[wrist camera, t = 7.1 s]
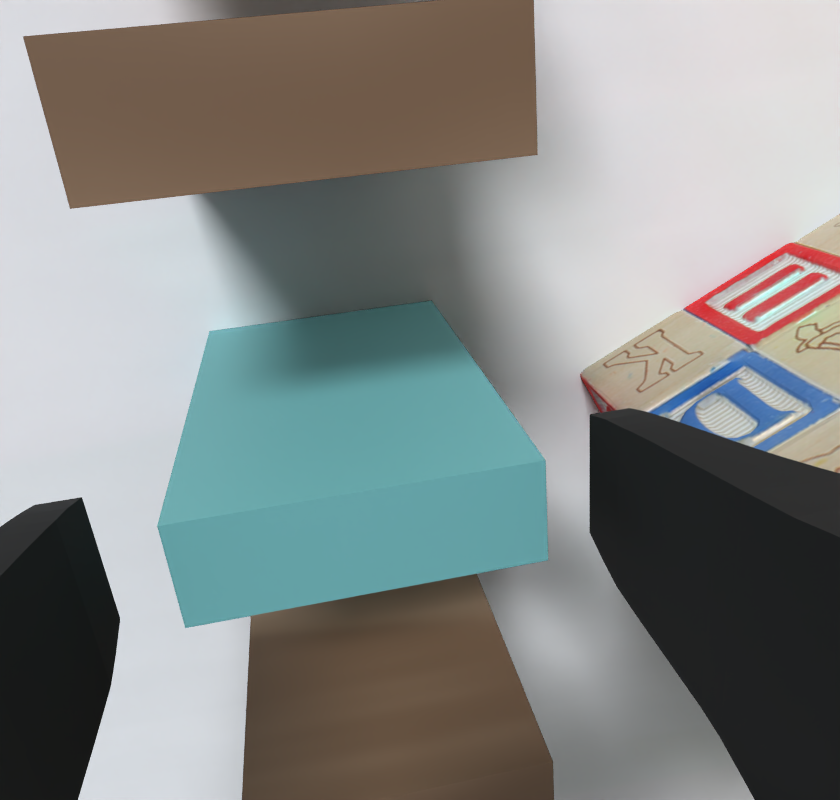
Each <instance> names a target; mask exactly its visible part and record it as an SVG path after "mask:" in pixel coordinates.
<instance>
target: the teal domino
mask: <svg viewBox="0 0 840 800" xmlns="http://www.w3.org/2000/svg"><path fill="white" fill-rule="evenodd" d="M157 527H158V530H159V534H160V538H161V541H162V545H163V548H164V552H165V556H166V559H167V563H168V567H169V570H170V574H171V577H172V581H173V585H174V588H175V592H176V596H177V599H178V603H179V606H180V610H181V614H182V617H183V621H184V625H185V628H188V627H194V626H199V625H204V624H210V623H215V622H220V621H226V620H231V619H236V618H242V617H247V616H252V615H258V614H263V613H269V612H274V611H279V610H285V609H290V608H295V607H301V606H306V605H311V604H317V603H322V602H327V601H333V600H338V599H343V598H349V597H354V596H360V595H365V594H370V593H376V592H381V591H386V590H392V589H397V588H402V587H408V586H413V585H418V584H424V583H429V582H434V581H440V580H445V579H451V578H456V577H461V576H467V575H472V574H477V573H483V572H488V571H493V570H499V569H504V568H509V567H515V566H520V565H526V564H531V563H536V562H542V561H547V560H548V537H547V499H546V461H545V459H544V458H543V456H542V455H541V453H540V452H539V451H538V449H537V448H536V446H535V445H534V444H533V442H532V441H531V439H530V438H529V437H528V435H527V434H526V432H525V431H524V430H523V428H522V427H521V425H520V424H519V423H518V421H517V420H516V418H515V417H514V416H513V414H512V413H511V411H510V410H509V409H508V407H507V406H506V404H505V403H504V401H503V400H502V399H501V397H500V396H499V394H498V393H497V392H496V390H495V389H494V387H493V386H492V385H491V383H490V382H489V380H488V379H487V378H486V376H485V375H484V373H483V372H482V371H481V369H480V368H479V366H478V365H477V364H476V362H475V361H474V359H473V358H472V357H471V355H470V354H469V352H468V351H467V350H466V348H465V347H464V345H463V344H462V343H461V341H460V340H459V338H458V337H457V336H456V334H455V333H454V331H453V330H452V329H451V327H450V326H449V324H448V323H447V322H446V320H445V319H444V317H443V316H442V315H441V313H440V312H439V310H438V309H437V308H436V306H435V305H434V303H433V302H432V301H424V302H417V303H410V304H403V305H396V306H388V307H381V308H374V309H367V310H360V311H352V312H345V313H338V314H331V315H324V316H317V317H309V318H302V319H295V320H288V321H281V322H273V323H266V324H259V325H252V326H245V327H238V328H230V329H223V330H216V331H210V332H209V335H208V339H207V343H206V347H205V350H204V354H203V358H202V362H201V365H200V369H199V373H198V376H197V380H196V384H195V388H194V391H193V395H192V399H191V403H190V406H189V410H188V414H187V417H186V421H185V425H184V429H183V432H182V436H181V440H180V444H179V447H178V451H177V455H176V458H175V462H174V466H173V470H172V473H171V477H170V481H169V485H168V488H167V492H166V496H165V499H164V503H163V507H162V511H161V514H160V518H159V522H158V525H157Z"/></svg>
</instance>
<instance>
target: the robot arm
mask: <svg viewBox="0 0 840 800" xmlns="http://www.w3.org/2000/svg"><path fill="white" fill-rule="evenodd" d="M590 534H591V536H592V538H593V540H594V542H595V544H596V546H597V548H598V550H599V553H600V555H601V557H602V559H603V561H604V563H605V565H606V567H607V569H608V571H609V572H610V574H611V576H612V578H613V580H614V582H615V584H616V586H617V587H618V589H619V590H620V592H621V593H622V595H623V596H624V598H625V599H626V601H627V602H628V604H629V605H630V607H631V608H632V610H633V611H634V612H635V614H636V615H637V617H638V618H639V620H640V621H641V623H642V624H643V626H644V627H645V628H646V630H647V631H648V633H649V634H650V636H651V637H652V638H653V640H654V641H655V643H656V644H657V645H658V647H659V648H660V650H661V651H662V653H663V654H664V655H665V657H666V658H667V660H668V661H669V662H670V664H671V665H672V667H673V668H674V670H675V671H676V672H677V674H678V675H679V677H680V678H681V680H682V681H683V682H684V684H685V685H686V687H687V688H688V690H689V691H690V692H691V694H692V695H693V697H694V698H695V699H696V701H697V702H698V704H699V705H700V707H701V708H702V710H703V711H704V713H705V714H706V716H707V718H708V719H709V721H710V722H711V724H712V725H713V727H714V728H715V730H716V732H717V733H718V735H719V736H720V738H721V740H722V742H723V743H724V745H725V747H726V749H727V751H728V752H729V754H730V756H731V758H732V760H733V761H734V763H735V765H736V767H737V768H738V770H739V772H740V774H741V776H742V777H743V779H744V781H745V783H746V785H747V786H748V788H749V790H750V792H751V794H752V795H753V797H754V799H755V800H840V473H837V472H833V471H829V470H826V469H822V468H819V467H815V466H812V465H809V464H805V463H802V462H798V461H795V460H791V459H788V458H785V457H781V456H778V455H775V454H772V453H769V452H766V451H763V450H759V449H756V448H753V447H750V446H747V445H744V444H741V443H739V442H736V441H733V440H730V439H727V438H724V437H721V436H718V435H715V434H712V433H710V432H707V431H704V430H701V429H698V428H695V427H692V426H689V425H686V424H684V423H681V422H678V421H675V420H672V419H669V418H666V417H662V416H659V415H656V414H653V413H649V412H645V411H642V410H637V409H632V408H626V409H620V410H614V411H608V412H602V413H596V414H590ZM119 623H120V617H119V614H118V611H117V607H116V604H115V601H114V598H113V595H112V592H111V588H110V585H109V582H108V579H107V576H106V572H105V569H104V566H103V563H102V560H101V557H100V553H99V550H98V547H97V544H96V541H95V538H94V534H93V531H92V528H91V525H90V522H89V519H88V515H87V512H86V509H85V506H84V503H83V500H82V497H81V498H75V499H69V500H63V501H57V502H51V503H44V504H38V505H34V506H32V507H31V508H29V509H27V510H25V511H23V512H22V513H20V514H19V515H17V516H16V517H14V518H13V519H11V520H10V521H8V522H7V523H5V524H4V525H3V526H1V527H0V800H78V797H79V794H80V790H81V787H82V784H83V780H84V777H85V774H86V770H87V767H88V763H89V760H90V757H91V753H92V750H93V746H94V743H95V740H96V736H97V733H98V729H99V726H100V722H101V719H102V715H103V712H104V708H105V705H106V701H107V697H108V694H109V690H110V686H111V681H112V675H113V668H114V662H115V656H116V648H117V640H118V631H119Z"/></svg>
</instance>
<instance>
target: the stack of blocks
mask: <svg viewBox="0 0 840 800" xmlns="http://www.w3.org/2000/svg"><path fill="white" fill-rule="evenodd" d="M580 376H581V378H582V381H583V382H584V384H585V386H586V388H587V389H588V391H589V393H590V395H591V396H592V398H593V400H594V402H595V404H596V406H597V407H598V409H599V411H600V413H602V412H608V411H614V410H620V409H626V408H632V409H637V410H642V411H645V412H649V413H653V414H656V415H659V416H662V417H666V418H669V419H672V420H675V421H678V422H681V423H684V424H686V425H689V426H692V427H695V428H698V429H701V430H704V431H707V432H710V433H712V434H715V435H718V436H721V437H724V438H727V439H730V440H733V441H736V442H739V443H741V444H744V445H747V446H750V447H753V448H756V449H759V450H763V451H766V452H769V453H772V454H775V455H778V456H781V457H785V458H788V459H791V460H795V461H798V462H802V463H805V464H809V465H812V466H815V467H819V468H822V469H826V470H829V471H833V472H837V473H840V214H839V215H837V216H836V217H834V218H833V219H831V220H829V221H828V222H826V223H825V224H823V225H821V226H820V227H818V228H817V229H815V230H814V231H812V232H810V233H809V234H807V235H806V236H804V237H803V238H801V239H800V240H798V241H797V242H795V243H789V244H787V245H785V246H783V247H782V248H780V249H779V250H777V251H775V252H774V253H772V254H770V255H769V256H767V257H765V258H764V259H762V260H761V261H759V262H757V263H756V264H754V265H753V266H751V267H750V268H748V269H746V270H745V271H743V272H742V273H740V274H739V275H737V276H735V277H734V278H732V279H730V280H729V281H727V282H725V283H724V284H722V285H721V286H719V287H717V288H716V289H714V290H713V291H711V292H709V293H708V294H706V295H705V296H703V297H702V298H700V299H698V300H697V301H695V302H694V303H692V304H690V305H689V306H687V307H685V308H684V309H683V310H681V311H679V312H677V313H675V314H673V315H671V316H669V317H668V318H666V319H665V320H663V321H661V322H660V323H658V324H657V325H655V326H653V327H652V328H650V329H648V330H647V331H645V332H644V333H642V334H640V335H639V336H637V337H635V338H634V339H632V340H631V341H629V342H628V343H626V344H624V345H623V346H621V347H620V348H618V349H616V350H615V351H613V352H612V353H610V354H608V355H607V356H605V357H604V358H602V359H600V360H599V361H597V362H596V363H594V364H592V365H591V366H589V367H588V368H586V369H585V370H584V371H583V372H582V373H581V374H580Z"/></svg>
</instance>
